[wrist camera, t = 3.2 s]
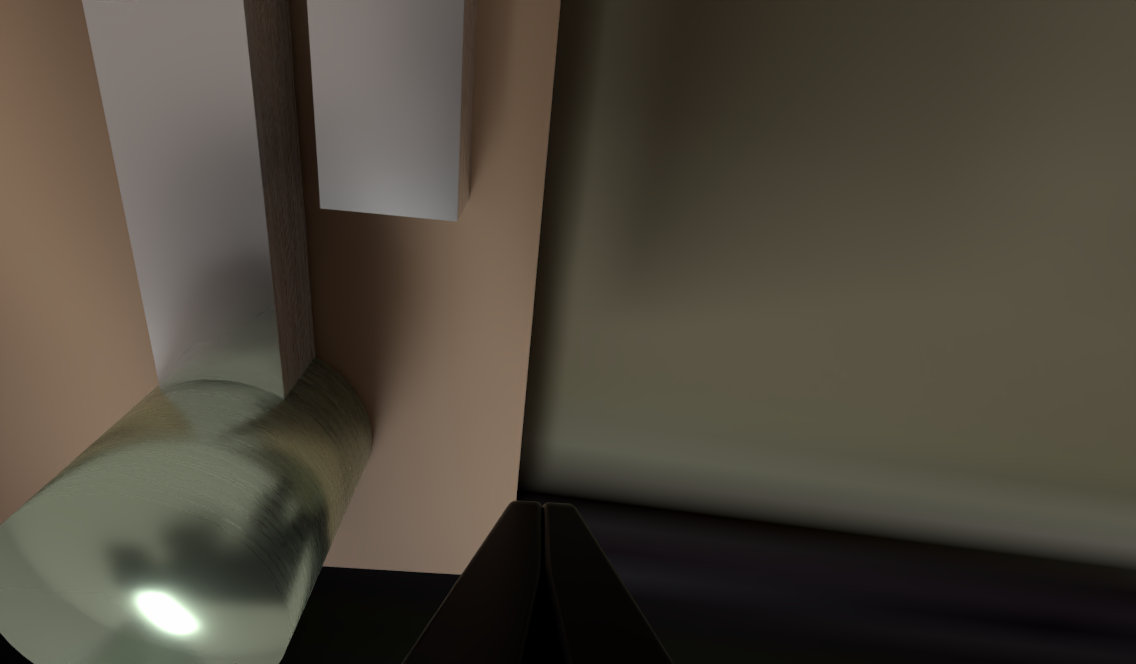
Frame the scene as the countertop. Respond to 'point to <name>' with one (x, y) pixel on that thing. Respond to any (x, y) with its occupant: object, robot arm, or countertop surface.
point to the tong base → (393, 104)
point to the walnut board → (337, 285)
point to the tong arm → (197, 369)
